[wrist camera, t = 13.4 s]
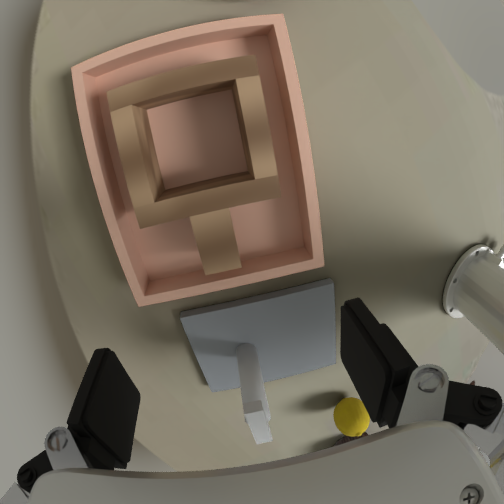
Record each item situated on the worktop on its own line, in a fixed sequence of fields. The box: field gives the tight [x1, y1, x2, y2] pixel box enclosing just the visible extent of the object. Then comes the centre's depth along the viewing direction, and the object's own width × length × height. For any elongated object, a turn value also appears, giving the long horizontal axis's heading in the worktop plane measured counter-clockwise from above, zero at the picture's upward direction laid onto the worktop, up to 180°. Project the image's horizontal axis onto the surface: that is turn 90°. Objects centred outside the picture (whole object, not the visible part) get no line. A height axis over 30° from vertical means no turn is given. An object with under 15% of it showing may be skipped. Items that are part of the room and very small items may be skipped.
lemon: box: [333, 397, 370, 437], centre depth 38 cm, size 6×6×8 cm
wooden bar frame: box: [107, 55, 281, 275], centre depth 22 cm, size 16×11×5 cm
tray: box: [71, 14, 324, 307], centre depth 23 cm, size 23×18×4 cm
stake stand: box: [180, 278, 336, 444], centre depth 28 cm, size 17×13×12 cm
